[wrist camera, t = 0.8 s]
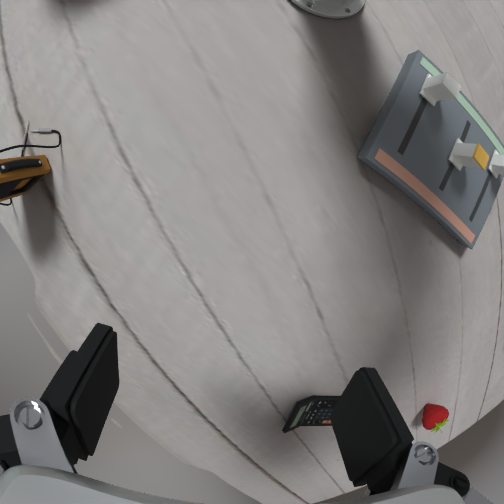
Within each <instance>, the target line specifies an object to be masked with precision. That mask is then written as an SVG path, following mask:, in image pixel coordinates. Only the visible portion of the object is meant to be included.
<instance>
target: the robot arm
mask: <svg viewBox="0 0 504 504" xmlns="http://www.w3.org/2000/svg"><path fill="white" fill-rule="evenodd" d="M291 1H292V2H293V3H294V4H296V5H297V6H299V7H300V8H302V9H304V10H306V11H307V12H310V13H312V14H315V15H318V16H321V17H326V18H334V19H341V18H347V17H350V16H353V15H354V14H356V13H357V12H358V11H359V10H360V9H362V7H363V5H364V3H365V0H291ZM118 387H119V370H118V352H117V333H116V332H114V331H113V328H112V327H111V326H107V325H104V324H101V323H97V324H96V325H95V326H94V328H93V329H92V331H91V332H90V334H89V335H88V337H87V338H86V340H85V341H84V343H83V344H82V346H81V347H80V349H79V350H78V352H77V351H74V350H73V351H71V352H70V353H69V355H68V356H67V357H66V359H65V360H64V362H63V363H62V365H61V366H60V368H59V369H58V371H57V373H56V374H55V375H54V377H53V379H52V380H51V382H50V383H49V385H48V387H47V388H46V390H45V391H44V393H43V395H42V397H41V398H40V400H38V399H35V398H31V397H26V398H21V399H19V400H17V401H16V402H15V403H14V404H13V405H12V406H11V410H10V414H9V415H3V416H0V504H203V503H195V502H187V501H181V500H175V499H169V498H163V497H159V496H154V495H150V494H145V493H141V492H137V491H133V490H129V489H125V488H122V487H118V486H114V485H111V484H108V483H105V482H102V481H98V480H95V479H91V478H88V477H85V476H82V475H79V474H78V472H77V470H76V468H75V466H74V464H77V461H78V458H79V459H82V460H85V461H86V460H87V458H88V455H90V456H92V455H93V454H94V452H95V448H96V446H97V443H98V440H99V438H100V435H101V432H102V429H103V427H104V424H105V421H106V419H107V416H108V413H109V411H110V408H111V406H112V403H113V401H114V398H115V396H116V393H117V391H118ZM330 420H331V423H332V427H333V430H334V433H335V436H336V439H337V442H338V445H339V448H340V452H341V455H342V458H343V461H344V464H345V468H346V471H347V474H348V477H349V480H350V481H352V482H353V485H354V487H357V486H363V485H366V484H367V485H368V489H367V491H366V493H365V495H364V497H360V498H355V499H349V500H343V501H337V502H330V503H322V504H493V503H492V502H490V501H489V500H488V499H487V498H485V497H484V496H483V495H482V494H480V493H479V492H478V491H477V490H475V489H474V488H473V487H472V488H470V483H469V480H468V478H467V477H466V476H465V475H464V474H463V473H461V472H459V471H457V470H455V469H452V468H450V467H448V466H446V465H444V464H442V463H440V462H438V453H437V451H436V449H435V448H434V447H433V446H432V445H431V444H429V443H427V442H416V443H415V444H412V441H413V440H414V438H413V436H412V434H411V432H410V430H409V428H408V426H407V425H406V423H405V421H404V419H403V417H402V415H401V413H400V412H399V410H398V408H397V406H396V404H395V402H394V401H393V399H392V397H391V395H390V393H389V392H388V390H387V388H386V386H385V385H384V383H383V381H382V379H381V377H380V376H379V374H378V372H377V370H376V369H375V368H367V367H362V368H360V369H359V370H358V371H356V372H355V374H354V375H353V377H352V379H351V380H350V382H349V384H348V385H347V387H346V389H345V390H344V392H343V394H342V395H341V397H340V398H339V400H338V402H337V403H336V405H335V406H334V408H333V409H332V411H331V413H330ZM469 488H470V489H469Z"/></svg>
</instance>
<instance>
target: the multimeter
mask: <svg viewBox="0 0 504 504" xmlns="http://www.w3.org/2000/svg"><path fill="white" fill-rule="evenodd" d="M28 122H29V120H28ZM27 127H28V123H27ZM27 127H26V132H27ZM31 131H38V133H40V132H57V133H58V135H59V144H58V145H57V146H39V145H25V142H26V136H27V133H26V132H25V133H24V139H23V144H22V145H17V146H12V147H9V148H5V149H2V150H0V153H1V152H3V151H6V150H10V149H13V148H18V147H22V155H21V157H16V158H8V159H0V202H1V201H4V200H7V199H10V201H11V203H12V199H11V198H13V197H17V196H20V195H24V194H25V193H27V192H28V191H29V190H30V189H31V188H32V187H33V186H34V185H35V184H36V183H37V182H38V181H39V180H40V179H42V178H43V177H44V176H45V175H46V174H48V173H49V172H50V171H51V168H50V166H49V163H48V161H47V158H46V156H45V155H39V156H26V157H23V150H24V147H41V148H56V147H59V145H60V144H61V135H60V133H59V132H58V131H56V130H51V129H39V130H31ZM11 203H10V204H3V203H0V204H1V205H6V206H8V205H11Z"/></svg>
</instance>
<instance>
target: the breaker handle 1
mask: <svg viewBox="0 0 504 504" xmlns="http://www.w3.org/2000/svg"><path fill="white" fill-rule="evenodd" d="M459 90H460V86H459V84H458V83H457V82H456V81H455V80H454V79H453V78H452V77H451V76H450V75H449V74H448V73H447V72H446V73H443V74H439V75H436V76H431V75H430V74H428V75H427V77H426V79H425V82H424V84H423V86H422V89H421V91H420V94H421V95H422V96H423V97H424V98H425V99H426V100H427V101H428V102H429V103H430V104H431V105H432V106H435V104H436V102H437V101H442V100H448V99H454V98H457V96H458V93H459Z"/></svg>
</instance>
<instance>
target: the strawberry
mask: <svg viewBox="0 0 504 504" xmlns="http://www.w3.org/2000/svg"><path fill="white" fill-rule="evenodd" d="M448 415H449V412H448V409H446V408H445V407H443V406H440V405H435V404H427V405H426V406H425V409H424V413H423V418H422V423H423V427H424V428H425V429H427V430H432V429H433V430H432V431H434V430H436V432H437V431H438V430H439V429H440V427H441V426H443V425H445V424H446V422H447V421H448V420H447V418H448ZM446 420H447V421H446ZM439 426H440V427H439ZM432 431H431V432H432ZM441 432H442V431H441Z"/></svg>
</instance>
